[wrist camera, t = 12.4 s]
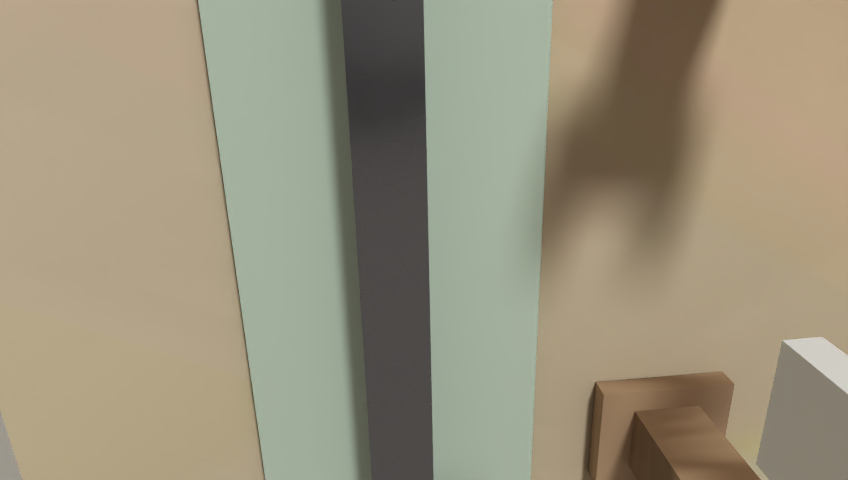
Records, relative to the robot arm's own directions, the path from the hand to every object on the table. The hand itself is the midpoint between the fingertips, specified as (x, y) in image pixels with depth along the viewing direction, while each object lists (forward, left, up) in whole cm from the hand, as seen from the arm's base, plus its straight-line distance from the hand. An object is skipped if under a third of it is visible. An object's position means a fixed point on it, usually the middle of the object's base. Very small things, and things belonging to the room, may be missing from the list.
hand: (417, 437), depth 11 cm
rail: (0, 0, -14) cm, 14 cm away
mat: (0, 0, -15) cm, 15 cm away
